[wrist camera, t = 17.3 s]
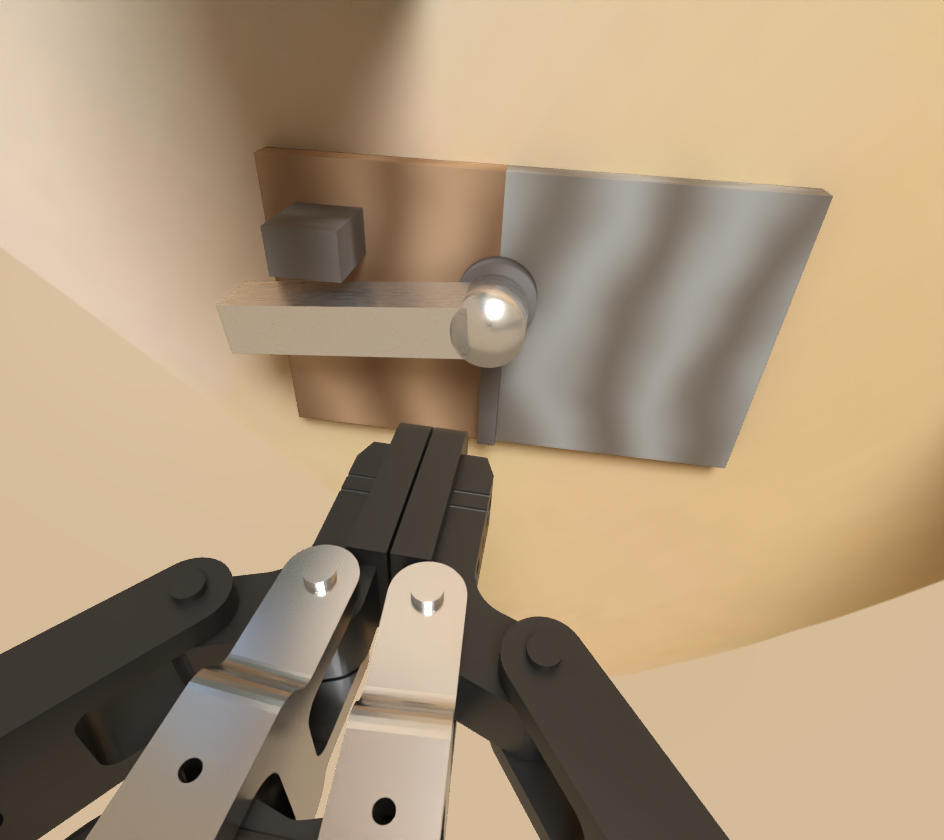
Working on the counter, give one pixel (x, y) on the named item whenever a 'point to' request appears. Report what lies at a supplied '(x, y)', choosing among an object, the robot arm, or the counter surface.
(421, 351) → the swing bar
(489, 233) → the lock plate
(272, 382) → the counter surface
